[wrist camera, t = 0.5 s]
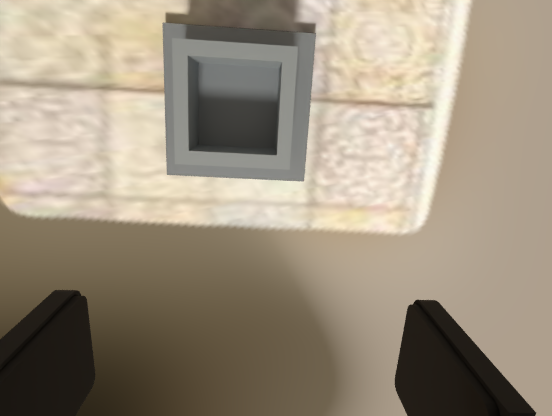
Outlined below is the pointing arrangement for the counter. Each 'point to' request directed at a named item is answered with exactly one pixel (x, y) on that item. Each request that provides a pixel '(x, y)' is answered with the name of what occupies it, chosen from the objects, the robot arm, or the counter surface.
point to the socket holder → (237, 101)
